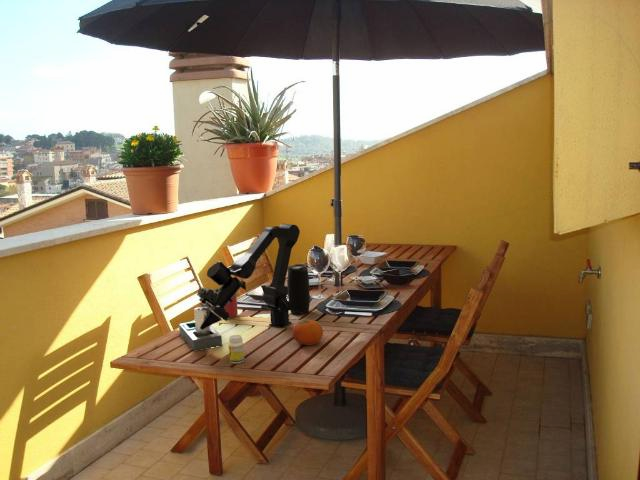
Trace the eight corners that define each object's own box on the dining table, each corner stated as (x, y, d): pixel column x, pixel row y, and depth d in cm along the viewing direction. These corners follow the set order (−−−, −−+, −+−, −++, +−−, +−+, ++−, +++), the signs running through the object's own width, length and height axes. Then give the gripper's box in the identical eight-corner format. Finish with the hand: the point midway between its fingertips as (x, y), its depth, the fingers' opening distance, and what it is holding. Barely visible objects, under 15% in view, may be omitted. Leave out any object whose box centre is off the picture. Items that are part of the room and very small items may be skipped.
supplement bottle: (230, 359, 208) (228, 334, 206) (244, 358, 208) (243, 333, 207) (229, 364, 203) (227, 339, 202) (244, 363, 203) (242, 338, 202)
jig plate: (222, 346, 221) (221, 334, 220) (194, 351, 217) (193, 339, 216) (205, 329, 241) (205, 318, 240) (179, 334, 236) (178, 322, 236)
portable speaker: (286, 315, 255) (283, 268, 252) (293, 308, 264) (291, 263, 261) (306, 316, 253) (304, 268, 249) (313, 309, 262) (310, 263, 258)
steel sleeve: (214, 343, 225) (211, 307, 222) (204, 347, 220) (201, 311, 218) (203, 340, 227) (201, 306, 225) (193, 345, 223) (190, 309, 221)
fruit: (327, 339, 223) (326, 318, 222) (317, 349, 213) (316, 327, 212) (299, 337, 227) (298, 316, 225) (288, 347, 217) (287, 325, 216)
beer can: (234, 318, 253) (232, 289, 251) (219, 318, 255) (217, 289, 253) (239, 314, 260) (238, 285, 258) (224, 313, 261) (222, 285, 259)
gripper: (202, 273, 230) (175, 307, 227) (218, 283, 213) (188, 320, 210) (224, 291, 235) (198, 325, 232) (241, 302, 218) (212, 339, 215)
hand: (198, 326), depth 222 cm, fingers closed on steel sleeve, 5 cm apart
